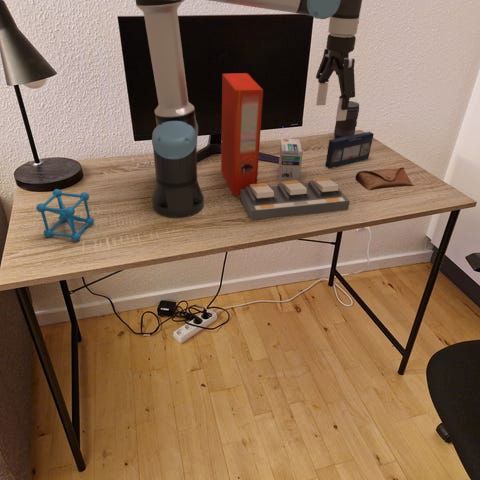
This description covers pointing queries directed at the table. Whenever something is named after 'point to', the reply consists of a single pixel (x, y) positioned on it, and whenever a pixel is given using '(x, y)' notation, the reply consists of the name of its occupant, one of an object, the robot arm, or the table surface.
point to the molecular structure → (65, 214)
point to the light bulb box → (290, 159)
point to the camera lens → (347, 122)
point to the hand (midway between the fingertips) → (330, 112)
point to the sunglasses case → (383, 178)
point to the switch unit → (293, 202)
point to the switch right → (325, 184)
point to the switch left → (261, 190)
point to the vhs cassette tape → (348, 149)
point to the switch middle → (294, 187)
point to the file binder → (240, 130)
